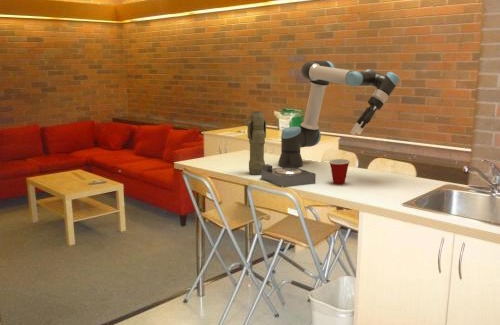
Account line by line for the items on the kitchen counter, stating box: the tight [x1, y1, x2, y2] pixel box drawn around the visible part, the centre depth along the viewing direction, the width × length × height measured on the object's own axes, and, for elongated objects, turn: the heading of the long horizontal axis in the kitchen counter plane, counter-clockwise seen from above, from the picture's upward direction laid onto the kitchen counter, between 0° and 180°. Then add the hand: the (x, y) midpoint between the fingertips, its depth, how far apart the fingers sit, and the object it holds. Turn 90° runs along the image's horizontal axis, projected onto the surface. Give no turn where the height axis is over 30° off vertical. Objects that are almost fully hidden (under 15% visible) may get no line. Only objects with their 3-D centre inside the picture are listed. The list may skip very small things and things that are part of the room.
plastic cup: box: [328, 158, 351, 185], centre depth 252 cm, size 11×11×12 cm
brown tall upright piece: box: [247, 110, 267, 176], centre depth 273 cm, size 9×12×35 cm
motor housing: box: [260, 163, 317, 188], centre depth 257 cm, size 22×20×8 cm
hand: (354, 133), depth 253 cm, fingers open, 13 cm apart
